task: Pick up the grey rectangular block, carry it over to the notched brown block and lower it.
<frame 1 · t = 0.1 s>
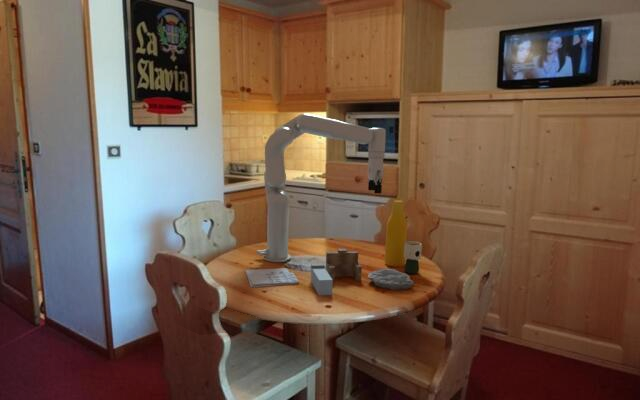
hand: (374, 191, 221), 31 cm above the table, tool pointing down, fingers open, 9 cm apart
character mug: (411, 273, 202), on the table
beer bottle: (394, 264, 215), on the table
grey rectangular block: (321, 288, 181), on the table
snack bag: (271, 279, 192), on the table
notched brown block: (342, 276, 195), on the table
flat grey rock: (389, 284, 188), on the table
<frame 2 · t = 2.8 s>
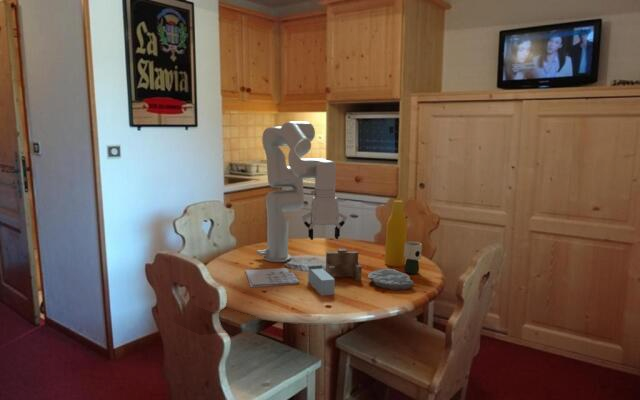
hand: (324, 238, 179), 19 cm above the table, tool pointing down, fingers open, 9 cm apart
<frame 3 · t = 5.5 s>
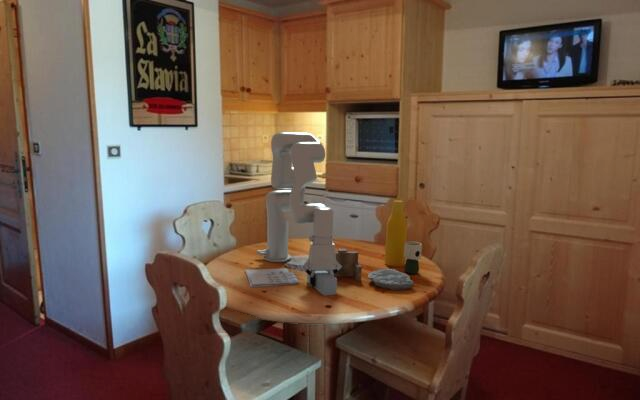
hand: (321, 285, 181), 1 cm above the table, tool pointing down, fingers closed on grey rectangular block, 5 cm apart
grey rectangular block: (321, 287, 181), on the table, touching gripper
everything else where it was.
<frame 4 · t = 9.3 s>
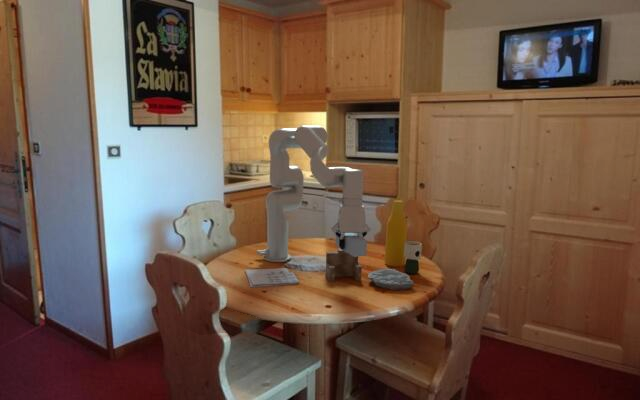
hand: (350, 248, 181), 15 cm above the table, tool pointing down, fingers closed on grey rectangular block, 5 cm apart
grey rectangular block: (350, 250, 181), point 14 cm above the table, touching gripper
everything else where it was.
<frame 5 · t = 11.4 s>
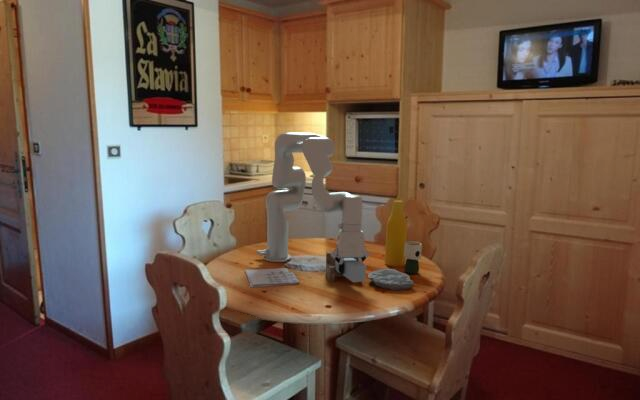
hand: (349, 272, 182), 6 cm above the table, tool pointing down, fingers closed on grey rectangular block, 5 cm apart
grey rectangular block: (349, 275, 182), point 5 cm above the table, touching gripper
everything else where it was.
when the fingers open (2 cm above the table, at t = 13.2 s): grey rectangular block drops 2 cm, on the table.
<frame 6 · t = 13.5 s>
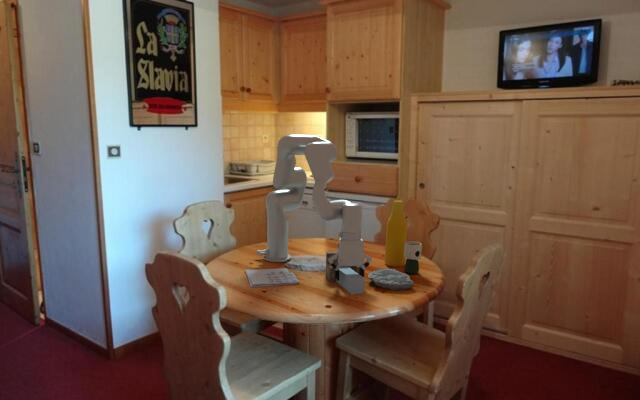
hand: (349, 279, 183), 3 cm above the table, tool pointing down, fingers open, 9 cm apart
grey rectangular block: (348, 287, 183), on the table
everything else where it was.
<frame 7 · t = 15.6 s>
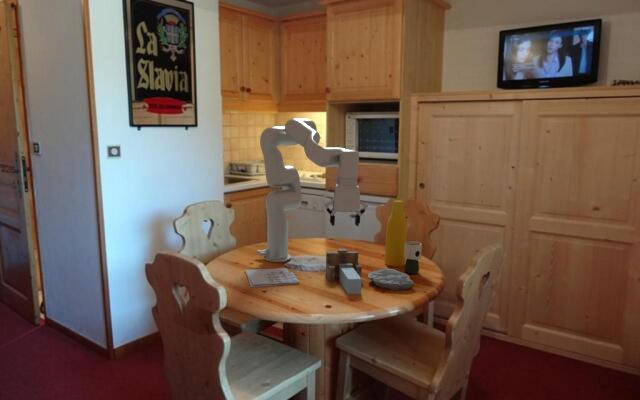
hand: (344, 225, 186), 23 cm above the table, tool pointing down, fingers open, 9 cm apart
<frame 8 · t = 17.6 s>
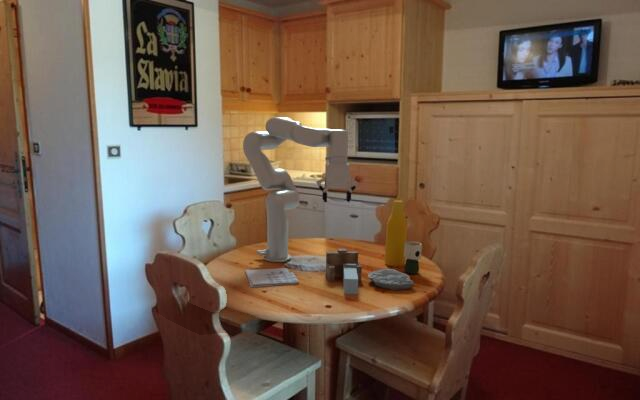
hand: (336, 201, 195), 30 cm above the table, tool pointing down, fingers open, 9 cm apart
grey rectangular block: (349, 287, 183), on the table, touching notched brown block
everything else where it was.
at the end: grey rectangular block 0.7 cm from the target spot on the table beside the notched brown block, on the table; grey rectangular block tilted 0°; the gripper is holding nothing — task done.
